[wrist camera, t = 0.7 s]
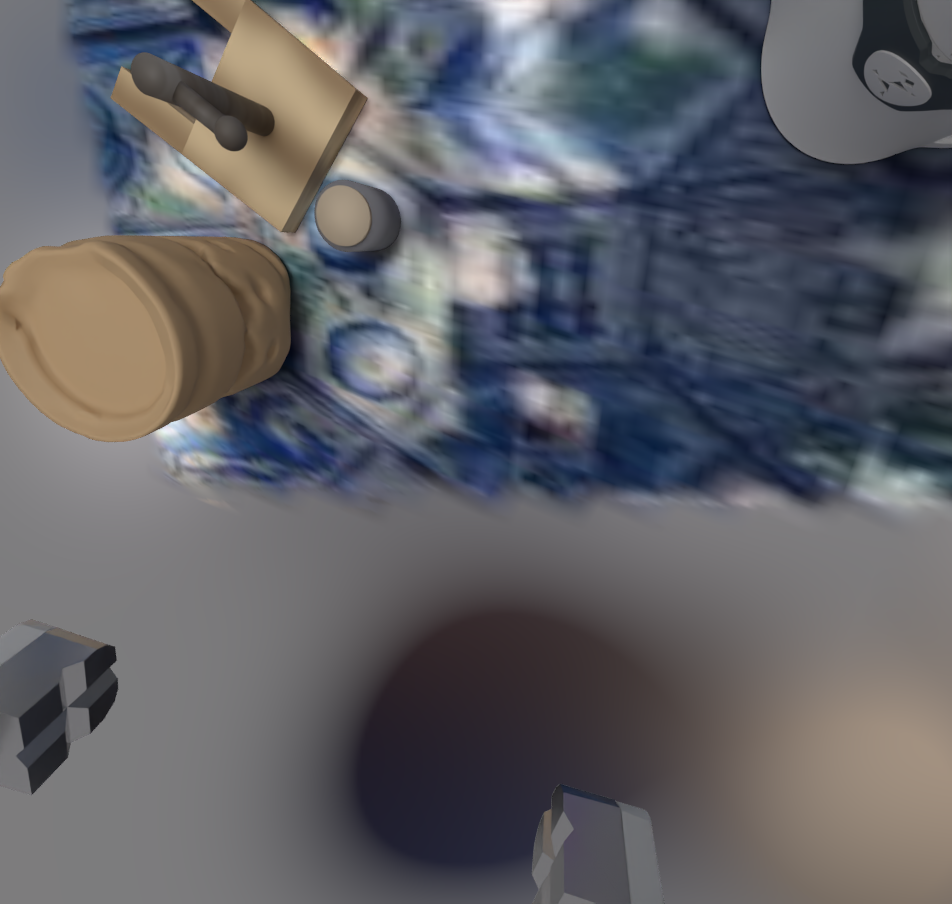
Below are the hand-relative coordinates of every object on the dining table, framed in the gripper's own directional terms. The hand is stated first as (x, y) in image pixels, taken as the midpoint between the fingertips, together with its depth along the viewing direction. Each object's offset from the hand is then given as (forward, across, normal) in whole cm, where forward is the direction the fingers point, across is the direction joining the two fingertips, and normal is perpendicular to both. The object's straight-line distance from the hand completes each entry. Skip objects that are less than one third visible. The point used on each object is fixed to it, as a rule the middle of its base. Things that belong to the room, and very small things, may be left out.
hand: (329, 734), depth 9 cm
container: (+40, +24, +4) cm, 47 cm away
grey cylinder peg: (+40, +14, -6) cm, 43 cm away
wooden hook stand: (+40, +26, -13) cm, 49 cm away
